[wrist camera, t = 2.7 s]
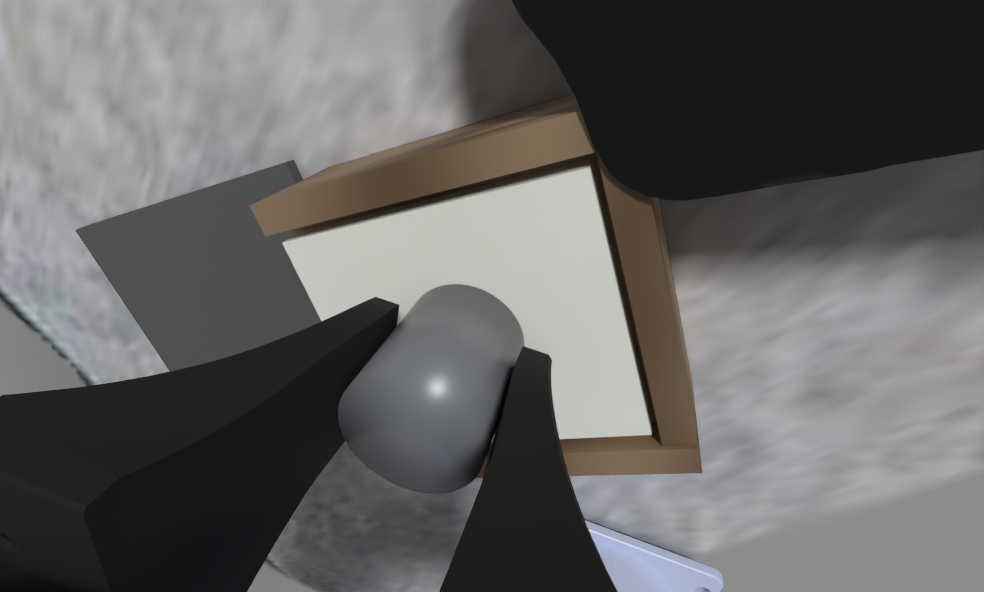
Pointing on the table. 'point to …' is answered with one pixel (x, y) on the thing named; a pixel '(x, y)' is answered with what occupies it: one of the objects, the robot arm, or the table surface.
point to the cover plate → (516, 261)
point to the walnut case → (635, 234)
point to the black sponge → (766, 86)
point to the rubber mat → (205, 270)
